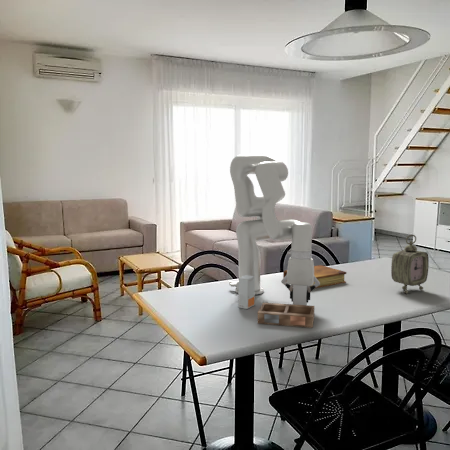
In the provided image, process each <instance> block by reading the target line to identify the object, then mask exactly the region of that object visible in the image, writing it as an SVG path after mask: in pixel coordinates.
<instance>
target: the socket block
mask: <svg viewBox="0 0 450 450" xmlns="http://www.w3.org/2000/svg"><path fill="white" fill-rule="evenodd" d="M314 320H315V305H293V303H291V304H290V303H280V302H279V303H278V302H277V303H276V302H275V303H274V302H262V303H261V305H260V307H259V309H258V311H257V324H258V325H271V326H285V327H295V328H296V327H297V328H307V329H308V328H309V329H312V328H313V327H314Z"/></svg>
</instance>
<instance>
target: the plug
mask: <svg viewBox="0 0 450 450" xmlns="http://www.w3.org/2000/svg"><path fill="white" fill-rule="evenodd" d="M306 295H307V286H305V285H293V302H292V304H293V305H307V304H308V303H307V302H306Z"/></svg>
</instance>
